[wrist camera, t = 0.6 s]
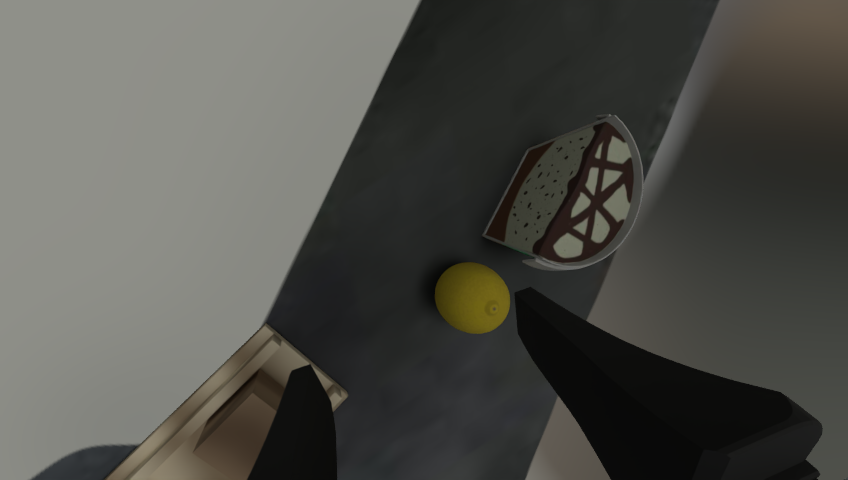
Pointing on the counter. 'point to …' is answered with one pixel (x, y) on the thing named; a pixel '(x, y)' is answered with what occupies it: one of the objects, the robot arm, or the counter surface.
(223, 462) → the block
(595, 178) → the food container
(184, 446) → the track
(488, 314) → the lemon
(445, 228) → the counter surface
